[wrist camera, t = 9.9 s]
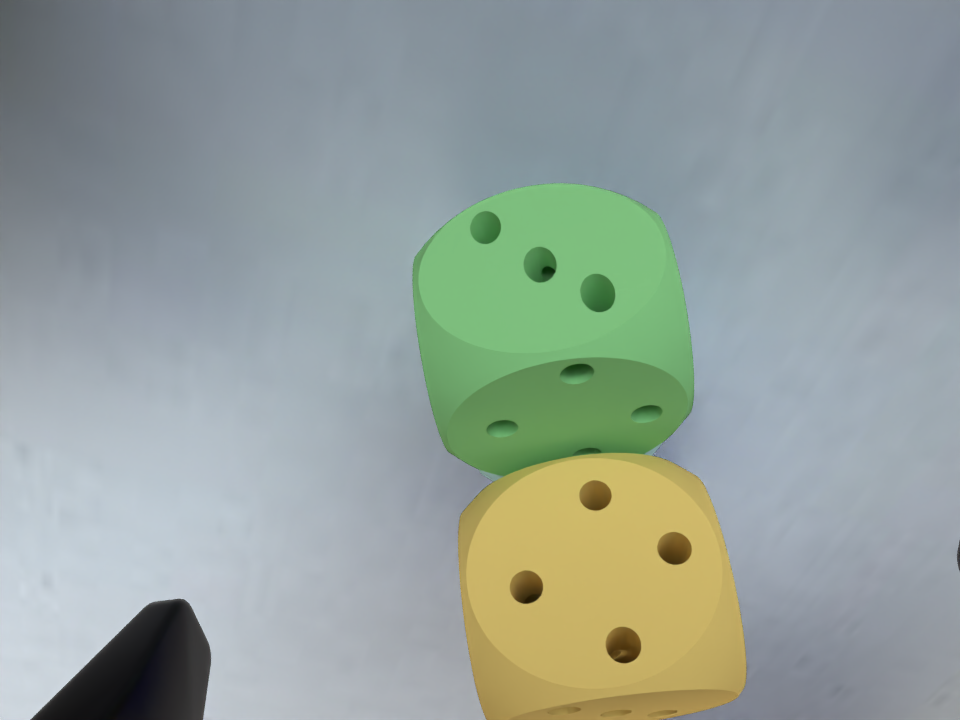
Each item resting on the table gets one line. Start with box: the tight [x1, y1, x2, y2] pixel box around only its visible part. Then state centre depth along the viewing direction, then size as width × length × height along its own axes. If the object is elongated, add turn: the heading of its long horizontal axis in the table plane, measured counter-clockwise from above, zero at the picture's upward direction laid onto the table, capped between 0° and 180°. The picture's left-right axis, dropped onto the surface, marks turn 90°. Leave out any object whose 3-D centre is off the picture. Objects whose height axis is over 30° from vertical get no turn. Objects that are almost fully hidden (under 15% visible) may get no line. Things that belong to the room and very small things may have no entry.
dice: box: [413, 183, 746, 720], centre depth 10 cm, size 8×3×6 cm, turn 11°
